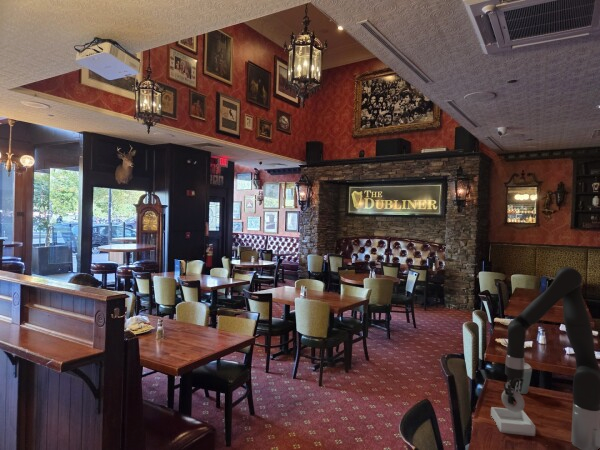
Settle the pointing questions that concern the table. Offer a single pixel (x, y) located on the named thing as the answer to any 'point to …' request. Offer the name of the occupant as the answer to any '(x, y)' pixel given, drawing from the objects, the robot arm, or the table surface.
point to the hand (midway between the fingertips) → (512, 402)
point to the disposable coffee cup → (526, 378)
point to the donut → (513, 407)
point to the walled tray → (512, 421)
